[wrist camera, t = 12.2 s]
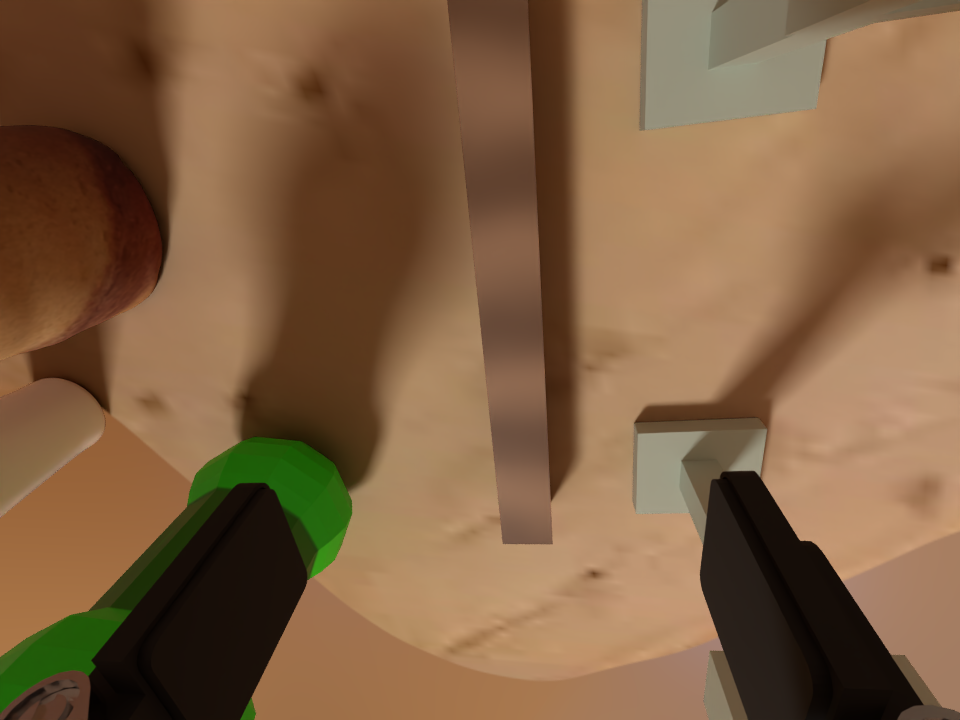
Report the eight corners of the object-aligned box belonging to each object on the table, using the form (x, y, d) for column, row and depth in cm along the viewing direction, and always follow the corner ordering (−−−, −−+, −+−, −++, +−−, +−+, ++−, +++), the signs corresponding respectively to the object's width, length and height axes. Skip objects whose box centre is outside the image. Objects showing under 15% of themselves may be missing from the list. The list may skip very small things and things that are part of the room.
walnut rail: (460, 4, 21) (444, -24, 18) (527, -6, 21) (526, -36, 17) (506, 499, 33) (502, 543, 29) (550, 499, 32) (552, 544, 29)
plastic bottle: (335, 394, 30) (-257, 1148, 8) (391, 521, 34) (111, 1262, 12) (202, 422, 32) (-576, 1082, 10) (269, 538, 36) (-170, 1198, 14)
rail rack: (642, -29, 20) (972, -545, 5) (825, -60, 19) (1947, -827, 4) (632, 500, 31) (722, 834, 16) (746, 498, 30) (954, 851, 15)
